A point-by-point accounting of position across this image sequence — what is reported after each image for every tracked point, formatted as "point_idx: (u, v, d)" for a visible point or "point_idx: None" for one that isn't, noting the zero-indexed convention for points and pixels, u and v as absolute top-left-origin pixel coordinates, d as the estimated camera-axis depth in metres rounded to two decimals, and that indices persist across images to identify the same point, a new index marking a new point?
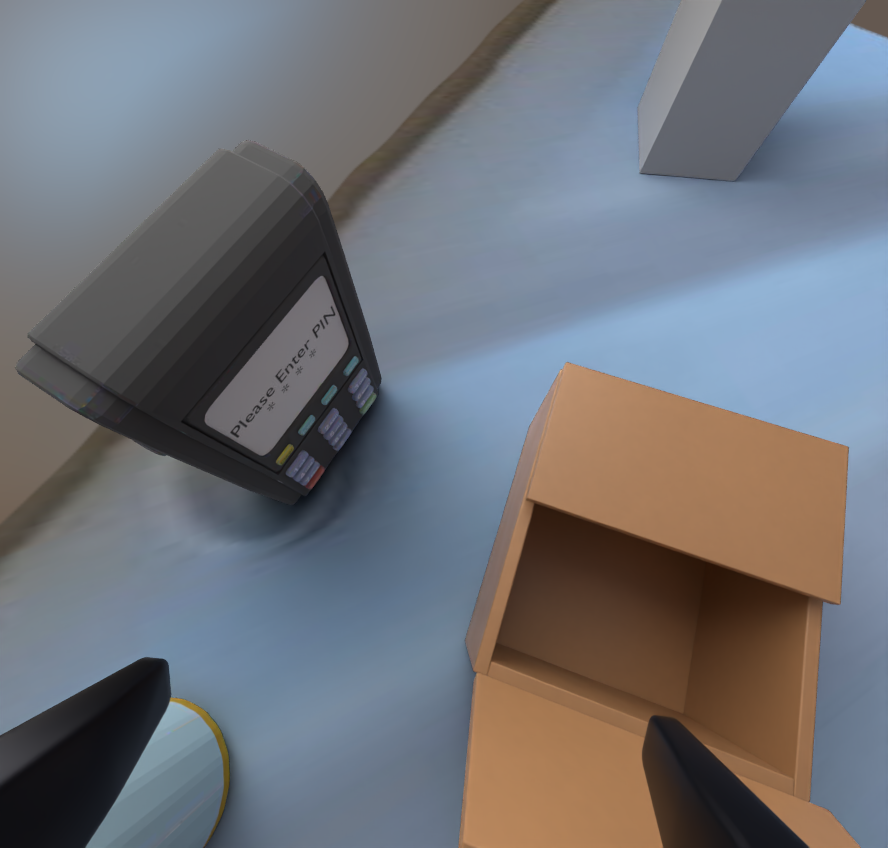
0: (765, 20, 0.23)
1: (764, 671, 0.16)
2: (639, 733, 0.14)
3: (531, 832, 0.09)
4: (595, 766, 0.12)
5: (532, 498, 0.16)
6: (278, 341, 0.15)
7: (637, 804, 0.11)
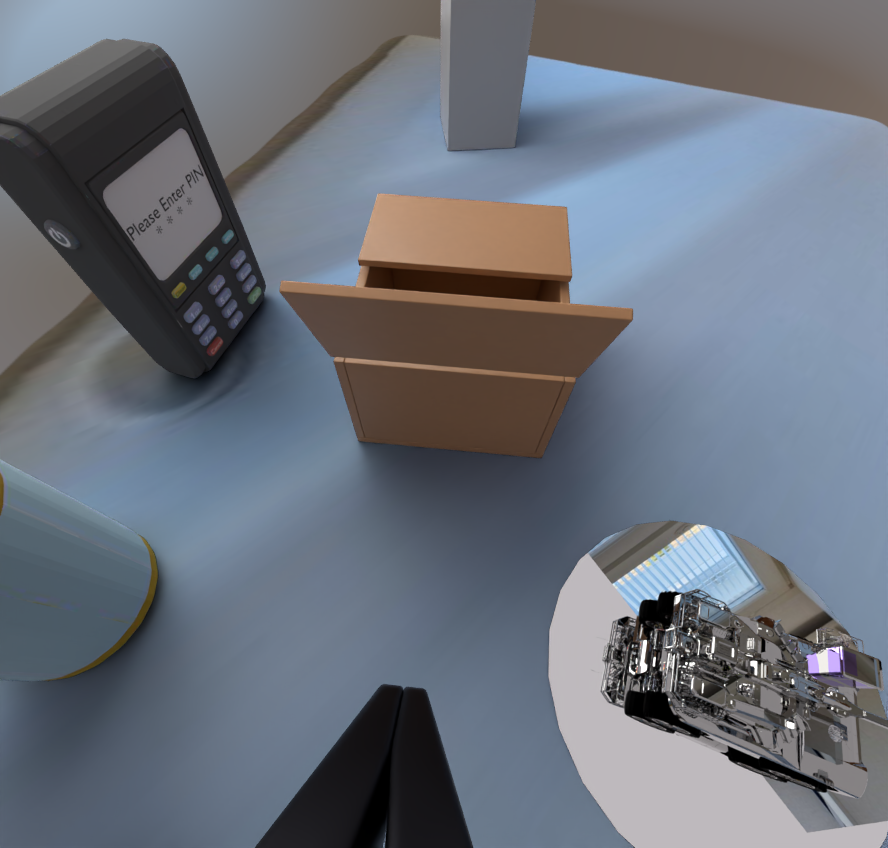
0: (482, 27, 0.36)
1: None
2: (457, 371, 0.20)
3: None
4: None
5: (361, 259, 0.23)
6: (157, 167, 0.21)
7: None
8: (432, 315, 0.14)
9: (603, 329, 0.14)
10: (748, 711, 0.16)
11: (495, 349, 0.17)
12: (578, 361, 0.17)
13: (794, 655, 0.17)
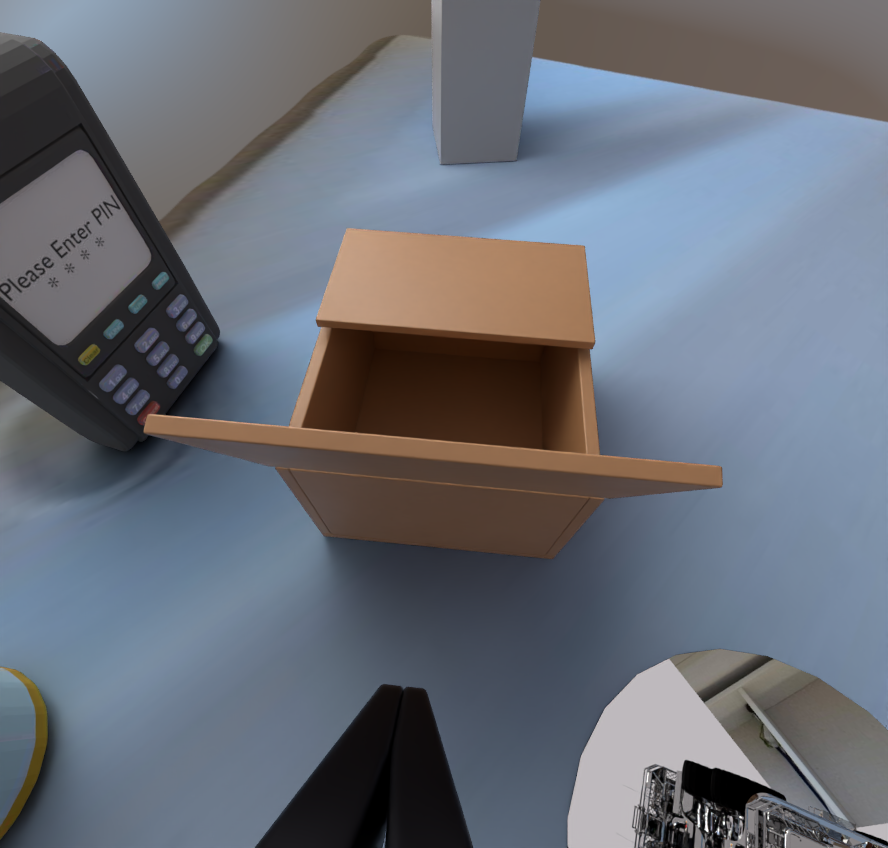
0: (479, 23, 0.31)
1: (569, 438, 0.18)
2: None
3: None
4: None
5: (320, 319, 0.17)
6: (43, 202, 0.16)
7: None
8: (394, 461, 0.09)
9: (667, 487, 0.09)
10: None
11: (494, 481, 0.11)
12: (615, 494, 0.12)
13: None
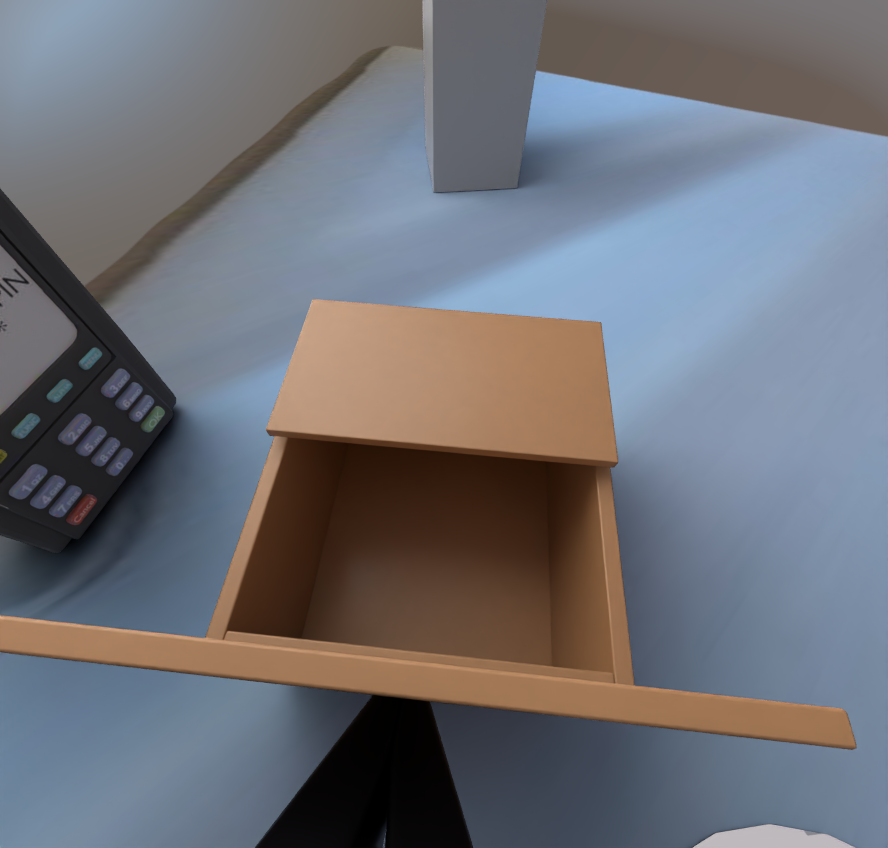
0: (475, 41, 0.27)
1: (585, 574, 0.14)
2: None
3: None
4: None
5: (271, 429, 0.14)
6: None
7: None
8: None
9: None
10: None
11: None
12: None
13: None
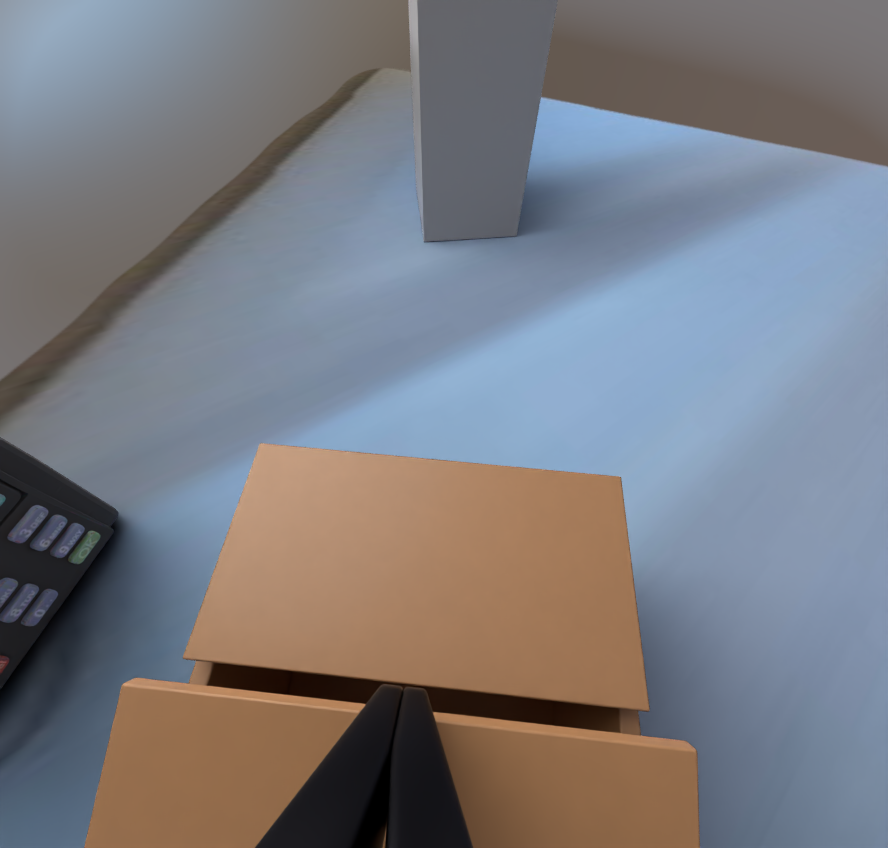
0: (468, 85, 0.24)
1: None
2: None
3: None
4: None
5: (190, 657, 0.10)
6: None
7: None
8: None
9: (664, 797, 0.08)
10: None
11: None
12: None
13: None
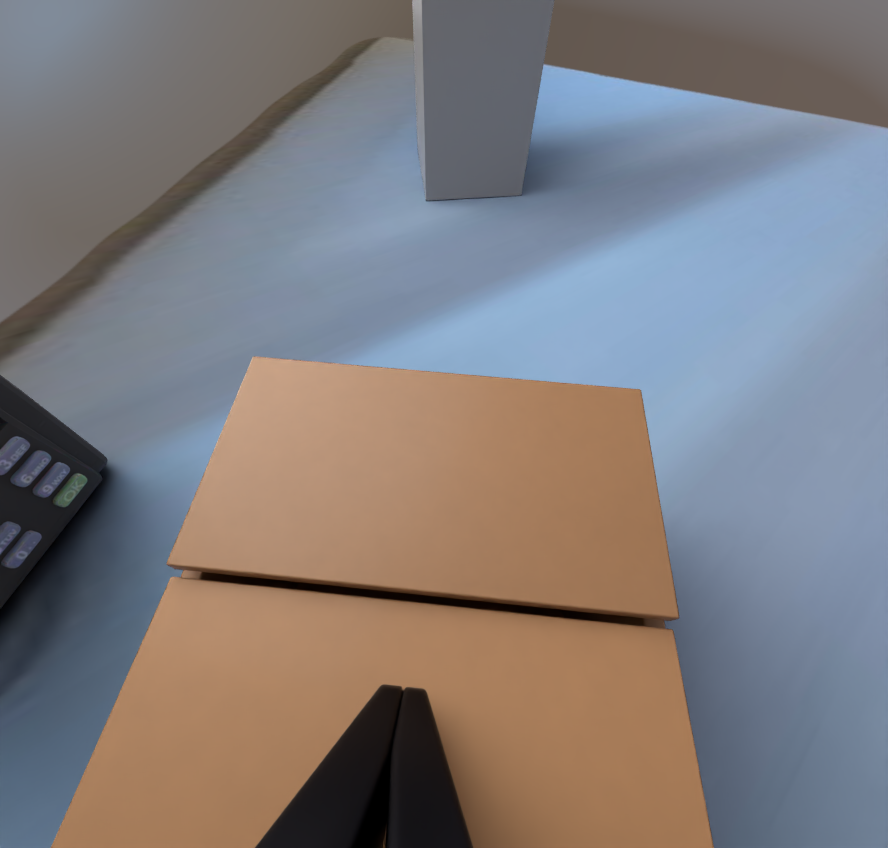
0: (472, 23, 0.23)
1: None
2: None
3: None
4: None
5: (174, 563, 0.09)
6: None
7: None
8: (378, 639, 0.09)
9: (650, 669, 0.09)
10: None
11: (484, 812, 0.08)
12: None
13: None
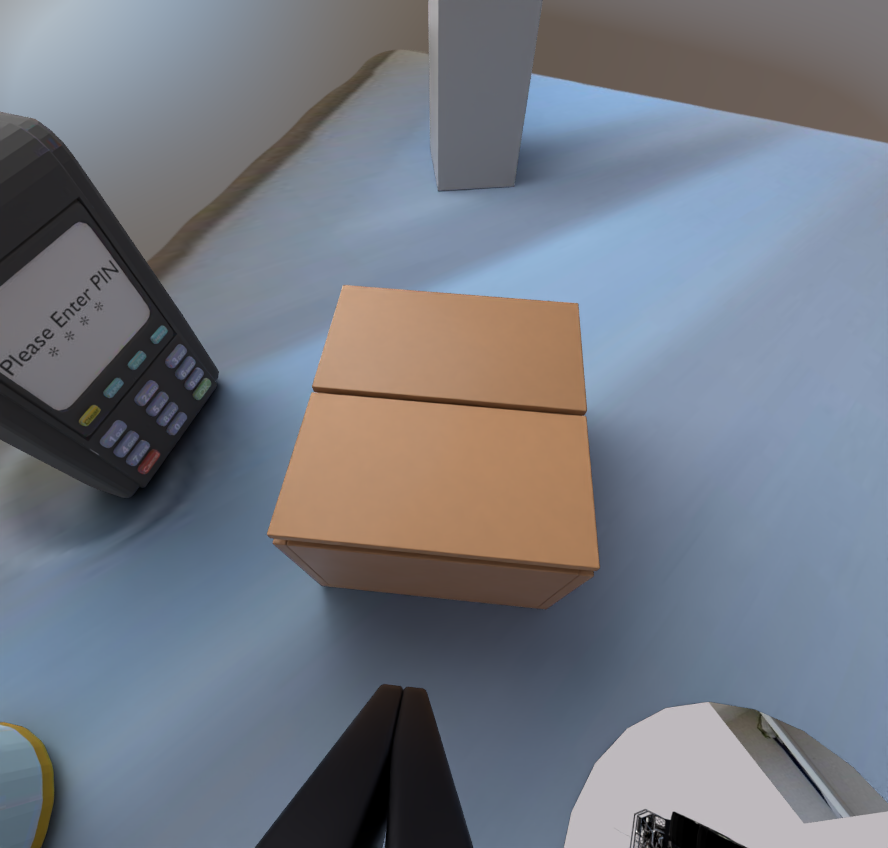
0: (475, 57, 0.30)
1: None
2: (435, 558, 0.15)
3: None
4: None
5: (316, 386, 0.18)
6: (43, 277, 0.16)
7: None
8: (427, 419, 0.17)
9: (571, 432, 0.17)
10: None
11: (484, 483, 0.16)
12: (578, 507, 0.15)
13: None
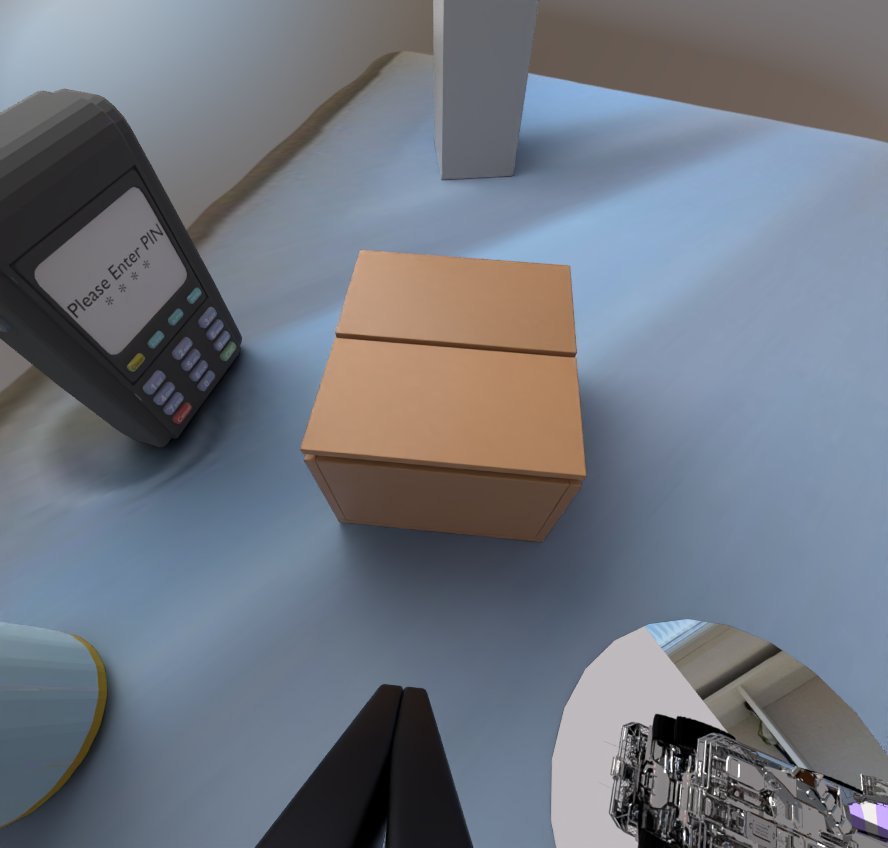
0: (477, 53, 0.33)
1: None
2: (445, 472, 0.17)
3: None
4: None
5: (339, 332, 0.20)
6: (104, 233, 0.19)
7: None
8: (437, 359, 0.19)
9: (563, 370, 0.19)
10: None
11: (486, 410, 0.18)
12: (568, 429, 0.18)
13: (841, 825, 0.15)
